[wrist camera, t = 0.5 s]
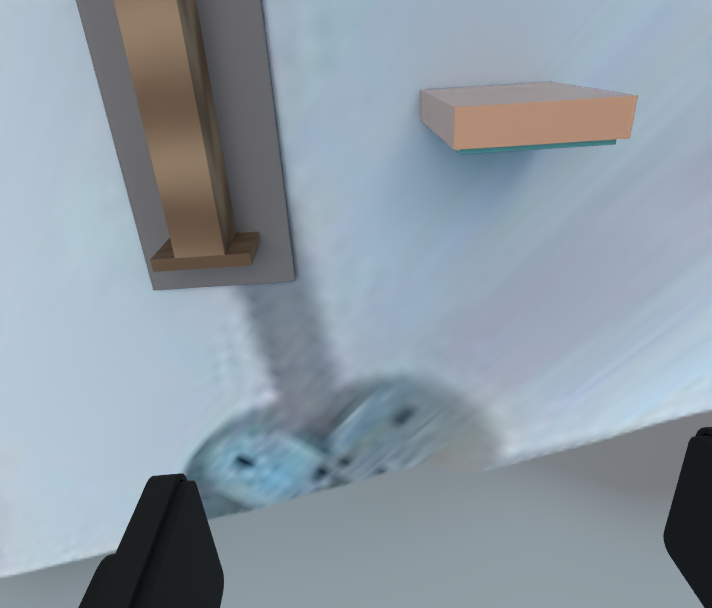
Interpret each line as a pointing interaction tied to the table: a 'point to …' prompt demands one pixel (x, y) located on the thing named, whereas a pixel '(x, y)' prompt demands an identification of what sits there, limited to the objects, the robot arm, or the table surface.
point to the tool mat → (236, 129)
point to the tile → (526, 116)
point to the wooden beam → (182, 135)
